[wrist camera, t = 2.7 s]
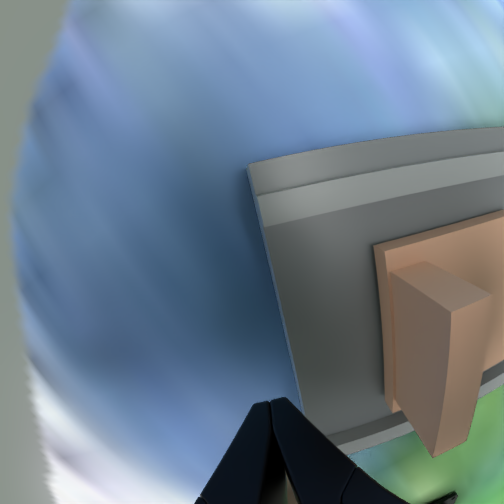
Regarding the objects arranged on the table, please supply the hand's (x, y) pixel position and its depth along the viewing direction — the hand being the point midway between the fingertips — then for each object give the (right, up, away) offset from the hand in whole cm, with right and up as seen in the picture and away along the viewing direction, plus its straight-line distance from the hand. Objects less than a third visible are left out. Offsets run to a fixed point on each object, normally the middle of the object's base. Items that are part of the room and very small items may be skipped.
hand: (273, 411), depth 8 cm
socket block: (+8, +3, +5) cm, 10 cm away
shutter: (+7, +2, +2) cm, 7 cm away
